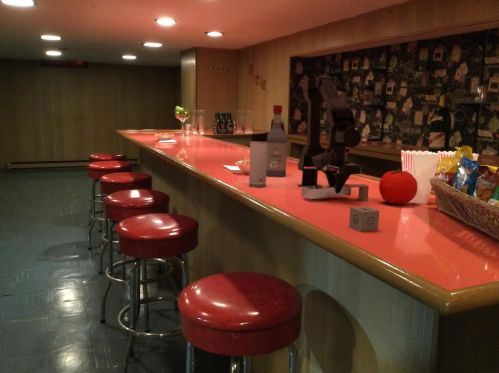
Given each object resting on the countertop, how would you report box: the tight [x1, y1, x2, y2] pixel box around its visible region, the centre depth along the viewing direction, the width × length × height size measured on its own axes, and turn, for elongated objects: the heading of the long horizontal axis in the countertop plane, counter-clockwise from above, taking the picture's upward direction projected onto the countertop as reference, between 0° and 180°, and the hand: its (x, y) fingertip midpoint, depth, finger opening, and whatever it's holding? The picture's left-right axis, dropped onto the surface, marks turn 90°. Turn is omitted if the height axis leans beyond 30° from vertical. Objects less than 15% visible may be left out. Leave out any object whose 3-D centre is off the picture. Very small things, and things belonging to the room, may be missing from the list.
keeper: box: [344, 183, 370, 202], centre depth 151 cm, size 7×4×5 cm, turn 98°
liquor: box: [266, 104, 288, 178], centre depth 198 cm, size 9×9×30 cm
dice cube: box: [348, 206, 380, 233], centre depth 114 cm, size 5×5×5 cm
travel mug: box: [248, 131, 270, 188], centre depth 170 cm, size 6×7×20 cm
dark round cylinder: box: [310, 186, 318, 201], centre depth 149 cm, size 2×2×4 cm
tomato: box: [378, 168, 418, 205], centre depth 146 cm, size 12×12×11 cm
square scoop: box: [301, 185, 352, 200], centre depth 151 cm, size 16×6×3 cm, turn 114°
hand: (334, 192), depth 152 cm, fingers closed on square scoop, 3 cm apart
